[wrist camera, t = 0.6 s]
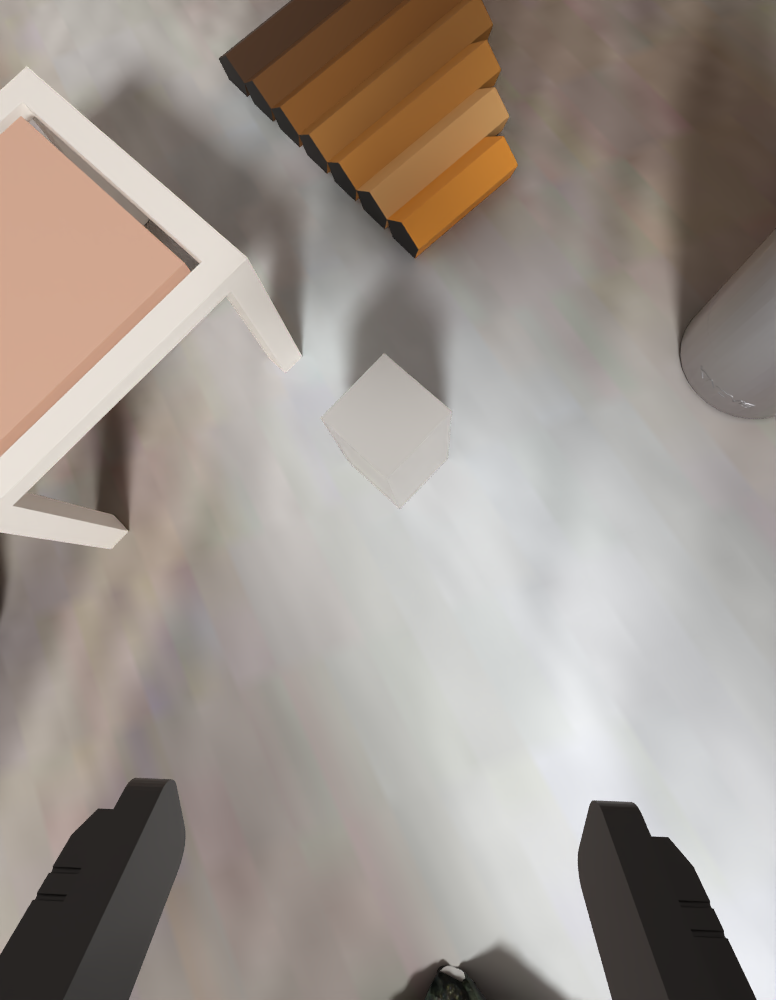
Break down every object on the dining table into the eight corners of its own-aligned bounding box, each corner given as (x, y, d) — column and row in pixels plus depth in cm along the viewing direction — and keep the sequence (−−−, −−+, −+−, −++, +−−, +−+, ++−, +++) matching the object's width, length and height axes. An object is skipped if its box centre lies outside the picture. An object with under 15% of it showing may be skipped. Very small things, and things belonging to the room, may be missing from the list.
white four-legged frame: (135, 207, 44) (26, 66, 32) (302, 356, 40) (247, 257, 29) (-45, 378, 43) (-227, 294, 31) (111, 549, 39) (-29, 527, 27)
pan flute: (442, -91, 48) (228, 82, 46) (442, -142, 45) (212, 42, 43) (651, 68, 43) (419, 266, 42) (669, 24, 40) (417, 238, 38)
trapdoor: (29, 126, 33) (17, 112, 32) (192, 273, 30) (184, 262, 29) (-156, 296, 32) (-175, 286, 31) (-6, 465, 29) (-21, 460, 28)
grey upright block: (397, 414, 39) (383, 353, 29) (447, 458, 38) (451, 411, 28) (349, 463, 39) (320, 418, 29) (399, 509, 38) (387, 478, 28)
